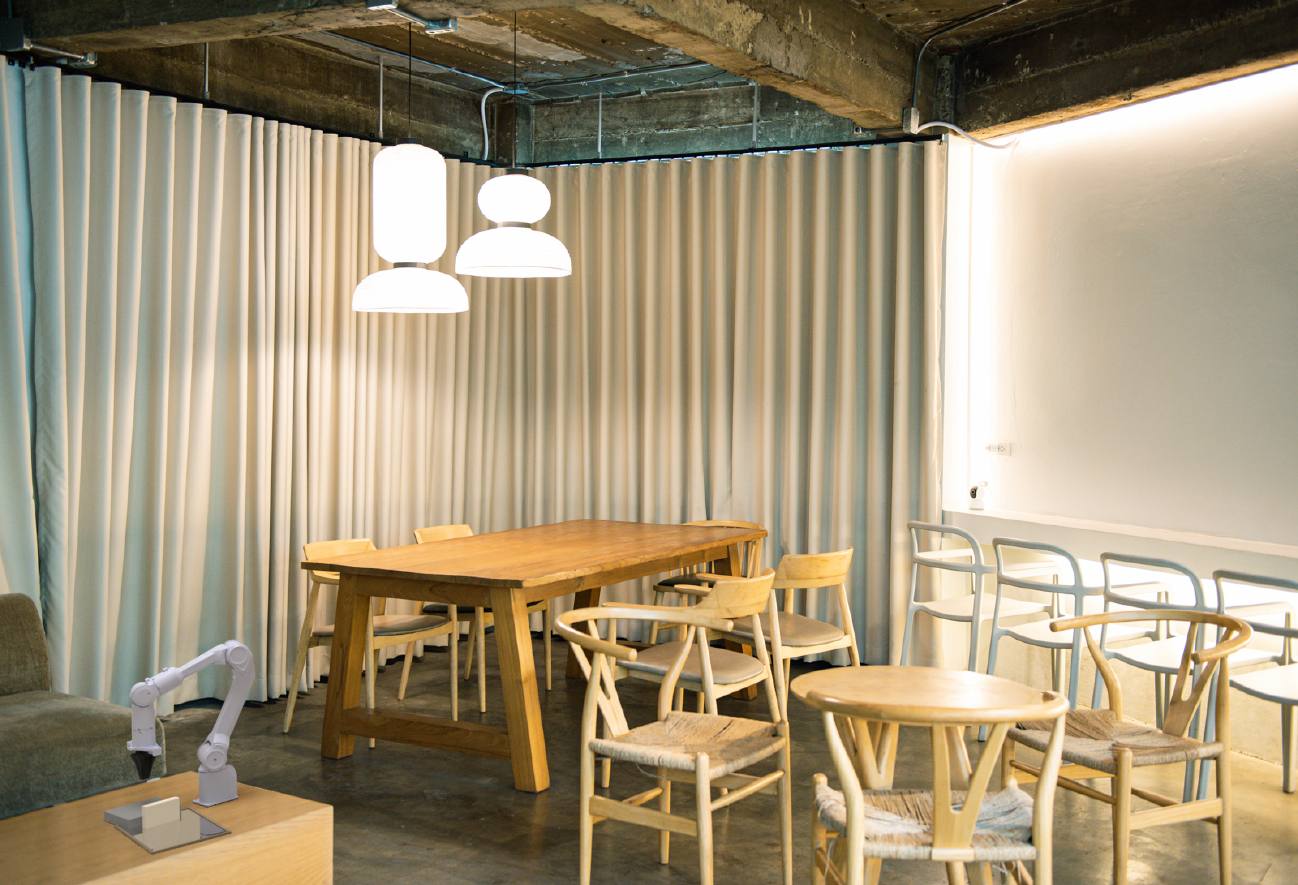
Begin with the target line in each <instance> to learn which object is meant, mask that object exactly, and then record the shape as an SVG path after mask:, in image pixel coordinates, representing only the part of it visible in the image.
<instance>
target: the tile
mask: <svg viewBox="0 0 1298 885" xmlns="http://www.w3.org/2000/svg"><path fill="white" fill-rule="evenodd" d="M180 801H181V800H180V797H178V796H172V797H169V798H166V799H164V800H161V801H158V802H154V803H151V804H147V805H144V806H142V828H145V829H148V828H151V827H155V826H158V825H161V824H165V823H168V822H171V821H174V820H178V819H180V805H181V804H180Z"/></svg>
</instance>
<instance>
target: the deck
mask: <svg viewBox="0 0 1298 885" xmlns="http://www.w3.org/2000/svg"><path fill="white" fill-rule="evenodd" d="M161 800H165V799H164V798H161V797H157V796H153V797H150V798H146V799H143V800H139V801H136V802H133V803H129V804H125V805H122V806H119V807H115V808H110V809H107V810H104V811H103V817H104V821H105V822H106V823H110V824H113V825H118V824H120V826H123V827H126V828H128V829H130V828H133V827H137V826H140V825H142V806H144V805H147V804H151V803H154V802H158V801H161ZM181 809H182V805H181V804H180V813H181Z"/></svg>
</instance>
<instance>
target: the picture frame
mask: <svg viewBox="0 0 1298 885" xmlns="http://www.w3.org/2000/svg"><path fill="white" fill-rule="evenodd" d="M113 825H114V824H113ZM114 829H116V830H117V831H119V832H120V833H121V834H122V835H124V836H125V837H127V838H128V839H130V840H131V841H132V842H133V843H135V844H136V843H137V845H138V846H139V847H140V848H142V849H144V850H145V851H146V852H147V853H149V854H150V855H155V854H156V855H157V854H160V853H165V852H167V851H171V850H175V849H179V848H182V847H183V848H184V847H186V846H190V845H193V844H198V843H201V842H205V841H209V840H212V839H216V838H220V837H224V836H227V834H228V835H232V832H233V831H232V830H230V829H228V828H226V827H225V826H223V825H221V824H220V823H218V822H217V821H215V820H214V819H212V818H210V817H208V816H206V815H205V814H203V813H201V812H199V810H196V809H194V808H193V807H191V806H188V807H184V808H183V807H182V808H181V813H180V819H178V820H174V821H171V822H168V823H165V824H161V825H158V826H155V827H151V828H148V829H145V828H142V825H140V826H137V827H133V828H130V829H128V828H126V827H123V826H120V824H118V825H114Z"/></svg>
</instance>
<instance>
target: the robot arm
mask: <svg viewBox="0 0 1298 885" xmlns="http://www.w3.org/2000/svg"><path fill="white" fill-rule="evenodd" d="M226 664H228V666H229V667H230V669H231V671H232V673H233V675H234V680H233V682H232V683H231V686H230V689H229V690H228V693H227V695H226V698H225V701H224V702H223V704H222V707H221V710H220V712H219V713H218V714H219V715H218V717H217V719H216V721H215V723H214V726H213V728H212V730H211V731H210V733H209V734H208V735H207V736H206V739H205V741H204V742H203V743H202V744H200V746H199V747H198V749H197V752H196V756H197V759H198V761H199V762H200V765H199V767H198V769H197V770H198V771H197V772H198V774H197V775H198V798H196V799H193V800H191V801H192V803H195V804H197V805H200V806H204V807H211V806H214V805H215V804H216V805H218V804H221V803H225V802H228V801H231V800H236V799H238V798H239V797H240V796H239V795H238V783H237V780H238V779H237V778H238V777H237V776H238V775H237V771H236V768H235V767H234V766H233V764H226V763H227V762H228V750H229V747H230V738H231V735H232V733H233V731H234V729H235V726H236V724H237V721H238V718H239V717H240V714H241V712H242V709H243V707H244V705H245V702H246V700H247V697H248V695H249V693H250V691H251V688H252V685H253V684H254V682H255V678H256V670H255V664H254V654H253V653H252V651H251V650H250V648H249V647H248V645H245V644H244V643H242V642H241V641H239V640H237V639H229V640H227V641H225V642H224V643H221V644H218V645H216V646H214V647H212V648H211V649H209V650H207V651H206V652H204V653H201V655H200V654H199V656H197V657H195V658H194V659H192V660H190V661H188V662H187V663H185V664H184V665H182V666H180V667H176V666H175V667H174V666H170V667H167V666H165V667H164V668H162V669H161V670H162V671H161V672H159V673H157V674H154V676H151V677H150V678H149V677H146V678H145V679H144V681H140V682H136V684H134V685H133V686H132V687H131V688H130V692H129V694H128V696H129V698H130V699H129V700H131V701H132V702H131V714H130V715H131V740H129V741H126V748H127V751H130V752H132V751H135V752H132V753H130V755H129V756H130V758H131V759H132V761H133V762H134V766H135V768H136V771H137V775H138V778H139V780H141V781H144V780H148V779H150V777H151V775H152V769H153V765H154V763H155V761H156V759H157V757H158V756H160V755H161V756H162V754H163V753H162V752H163V751H162V747H161V746H159V744H158V743H157V742H156V709H155V703H154V702H156V700H157V698H160V697H163V696H164V695H166V694H168V693H170V692H171V691H174V690H176V689H177V688H179V687H180V686H182V685H183V683H184V680H185V679H186V678H188V677H190V676H192V675H194V674H197V673H199V672H201V671H202V670H204V669H206V668H208V667H211V666H212V665H213V666H214V665H219V666H226Z"/></svg>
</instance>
